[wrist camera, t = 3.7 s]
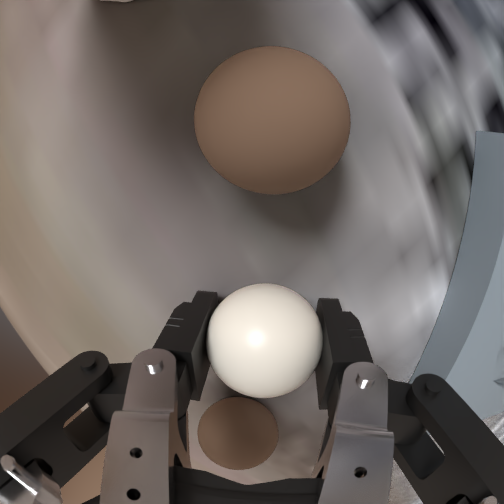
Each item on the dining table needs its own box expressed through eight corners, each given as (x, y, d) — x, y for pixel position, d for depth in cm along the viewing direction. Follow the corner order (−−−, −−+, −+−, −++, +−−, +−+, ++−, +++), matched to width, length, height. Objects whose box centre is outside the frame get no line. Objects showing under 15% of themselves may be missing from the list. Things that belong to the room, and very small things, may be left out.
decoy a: (214, 68, 8) (173, 29, 4) (335, 71, 8) (369, 33, 4) (213, 180, 10) (172, 209, 6) (331, 185, 9) (363, 217, 6)
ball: (215, 261, 11) (185, 325, 7) (323, 266, 10) (342, 334, 7) (219, 343, 12) (200, 413, 9) (310, 348, 12) (317, 421, 8)
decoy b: (202, 377, 13) (183, 441, 10) (282, 384, 13) (280, 452, 9) (209, 419, 15) (195, 474, 11) (276, 425, 15) (273, 482, 11)
